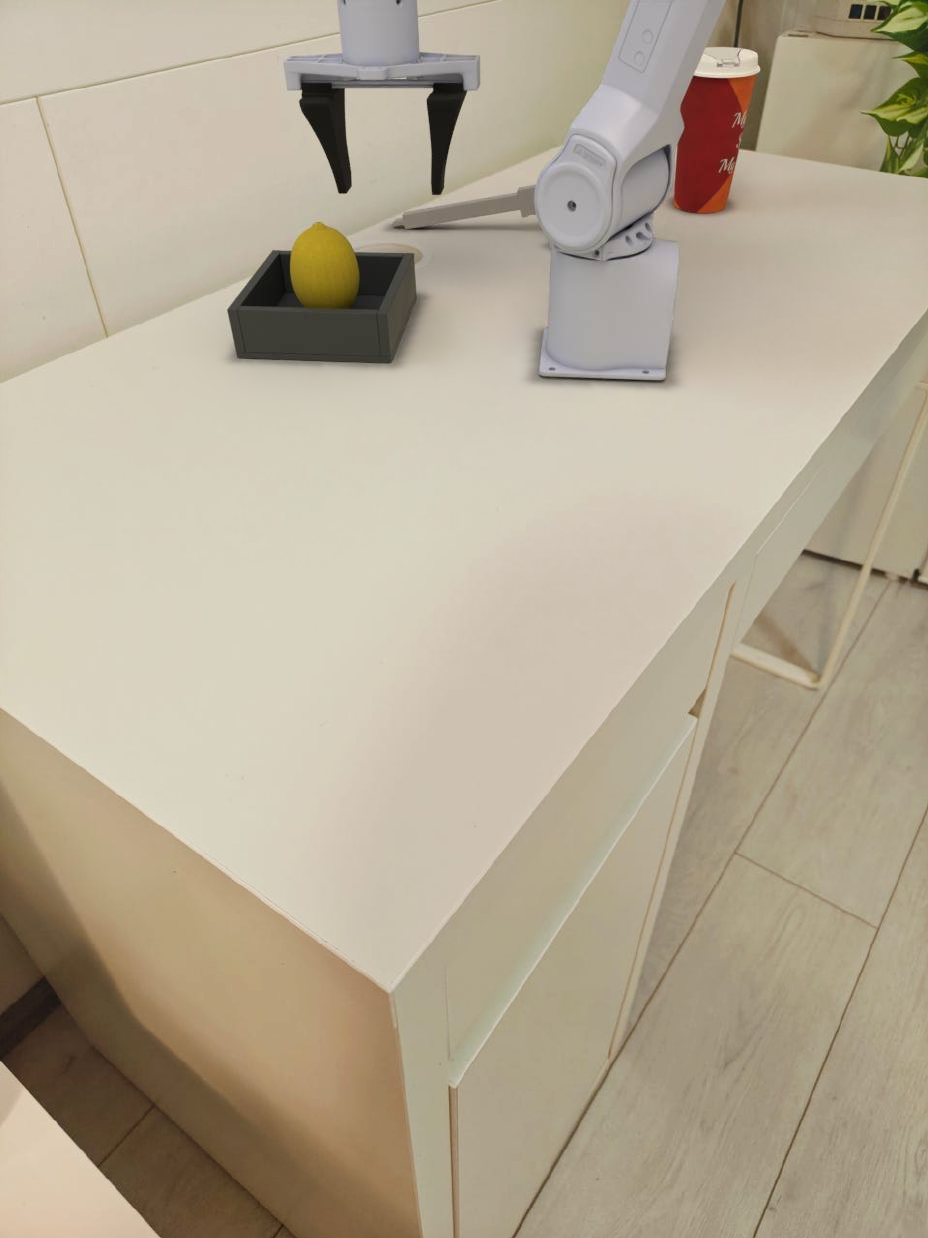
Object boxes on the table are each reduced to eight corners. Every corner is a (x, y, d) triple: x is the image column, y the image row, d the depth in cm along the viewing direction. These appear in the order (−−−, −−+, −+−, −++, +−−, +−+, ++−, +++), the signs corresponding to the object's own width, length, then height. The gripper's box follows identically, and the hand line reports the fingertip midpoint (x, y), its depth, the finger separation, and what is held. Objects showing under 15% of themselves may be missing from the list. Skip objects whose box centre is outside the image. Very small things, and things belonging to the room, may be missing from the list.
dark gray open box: (416, 298, 78) (414, 252, 76) (391, 363, 69) (386, 313, 66) (280, 294, 80) (272, 249, 77) (237, 357, 70) (226, 309, 68)
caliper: (588, 231, 90) (592, 164, 86) (587, 234, 89) (592, 167, 85) (394, 225, 92) (389, 160, 88) (391, 229, 92) (386, 163, 87)
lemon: (353, 337, 72) (341, 236, 66) (288, 333, 72) (272, 233, 67) (371, 309, 76) (362, 211, 70) (310, 305, 76) (296, 209, 71)
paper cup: (743, 215, 92) (771, 60, 82) (669, 217, 92) (689, 62, 83) (727, 192, 98) (752, 44, 88) (658, 193, 98) (675, 45, 88)
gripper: (260, -6, 60) (291, 205, 69) (471, -8, 58) (474, 207, 67) (287, -20, 65) (313, 177, 74) (482, -23, 63) (484, 179, 73)
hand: (391, 190), depth 71 cm, fingers open, 7 cm apart
